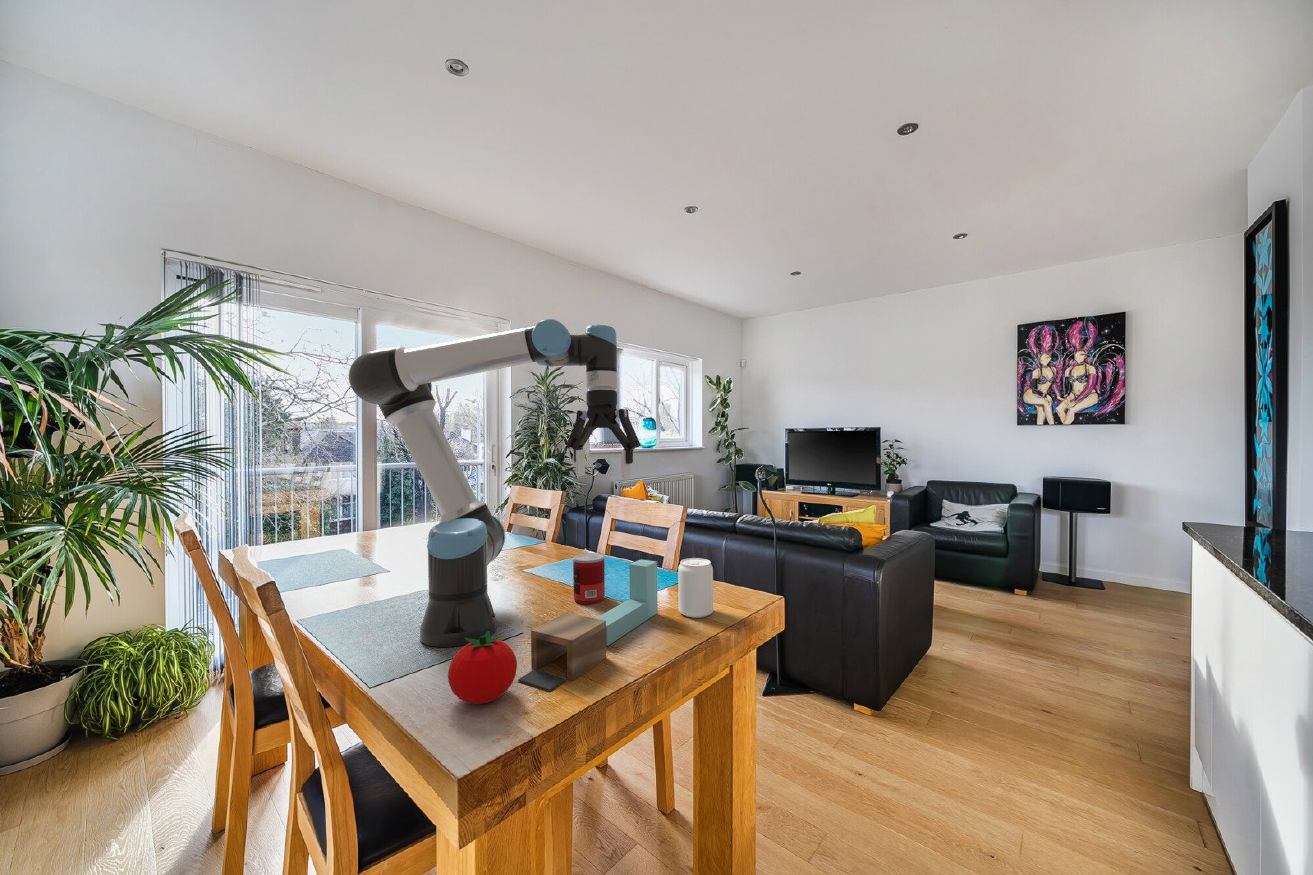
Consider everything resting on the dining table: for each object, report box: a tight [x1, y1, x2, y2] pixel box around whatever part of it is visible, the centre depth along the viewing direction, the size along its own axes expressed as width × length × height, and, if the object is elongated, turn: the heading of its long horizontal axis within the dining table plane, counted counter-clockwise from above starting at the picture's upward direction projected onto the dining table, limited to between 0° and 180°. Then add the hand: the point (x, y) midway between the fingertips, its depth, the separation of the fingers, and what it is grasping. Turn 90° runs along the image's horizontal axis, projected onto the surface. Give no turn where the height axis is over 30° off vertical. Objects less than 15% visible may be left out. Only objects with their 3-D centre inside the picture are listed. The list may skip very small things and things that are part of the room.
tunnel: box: [530, 612, 607, 682], centre depth 91 cm, size 9×10×7 cm
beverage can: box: [677, 557, 714, 619], centre depth 116 cm, size 8×8×12 cm
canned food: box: [572, 552, 606, 605], centre depth 126 cm, size 8×8×11 cm
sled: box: [595, 559, 659, 647], centre depth 108 cm, size 4×20×12 cm, turn 151°
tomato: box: [447, 631, 518, 705], centre depth 79 cm, size 10×10×10 cm
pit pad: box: [517, 669, 566, 693], centre depth 84 cm, size 7×4×1 cm, turn 61°
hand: (602, 476), depth 121 cm, fingers open, 13 cm apart
